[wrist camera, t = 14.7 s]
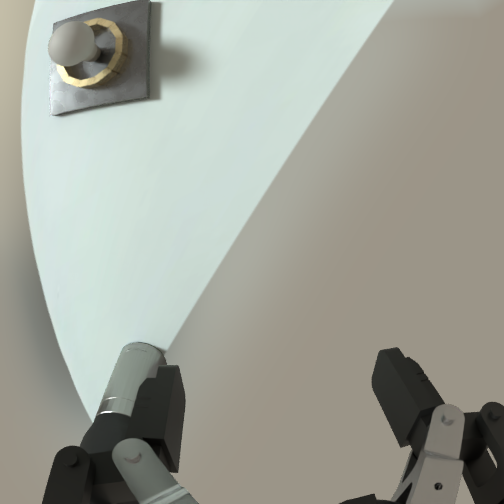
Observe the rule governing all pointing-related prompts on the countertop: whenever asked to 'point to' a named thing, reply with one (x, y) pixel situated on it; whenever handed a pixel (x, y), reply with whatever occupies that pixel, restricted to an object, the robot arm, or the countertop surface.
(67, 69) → the lamp socket
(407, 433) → the robot arm
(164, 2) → the countertop surface
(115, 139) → the countertop surface
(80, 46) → the lightbulb
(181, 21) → the countertop surface
